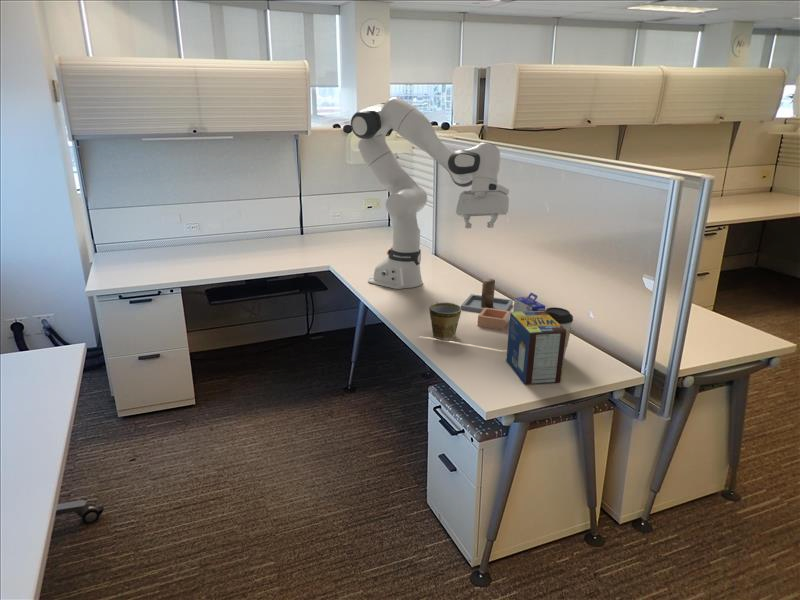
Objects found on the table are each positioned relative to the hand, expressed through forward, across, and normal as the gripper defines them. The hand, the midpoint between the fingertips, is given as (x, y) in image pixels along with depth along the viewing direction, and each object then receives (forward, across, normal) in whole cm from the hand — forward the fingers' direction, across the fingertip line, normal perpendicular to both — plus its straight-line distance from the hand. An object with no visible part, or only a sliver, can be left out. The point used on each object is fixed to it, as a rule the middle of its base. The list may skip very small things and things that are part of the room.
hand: (478, 227), depth 200 cm
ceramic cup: (+39, +3, -17) cm, 43 cm away
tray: (+27, -1, +12) cm, 30 cm away
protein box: (+46, +37, -17) cm, 61 cm away
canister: (+26, -1, +12) cm, 29 cm away
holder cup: (+33, +10, +2) cm, 35 cm away
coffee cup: (+41, +36, -5) cm, 55 cm away
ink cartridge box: (+36, +23, +1) cm, 43 cm away
